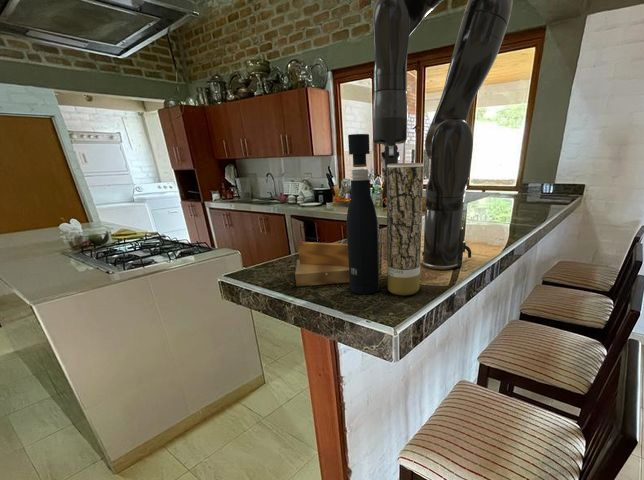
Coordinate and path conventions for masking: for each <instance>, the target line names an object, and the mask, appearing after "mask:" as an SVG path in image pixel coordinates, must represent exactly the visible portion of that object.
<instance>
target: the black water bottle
mask: <svg viewBox="0 0 644 480" xmlns="http://www.w3.org/2000/svg"><path fill="white" fill-rule="evenodd" d="M347 140H348V141H347V142H348V143H347V144H348V155H351V156H352V167H353V168H358V169H352V170H351V180H350V200H349V203H348V207H347V213H346V222H345V225H346V244H348V260H349V277H350V282H349V290H350V292H352V293H353V294H355V295H356V294H357V295H371V294H374V293H377V292H378V291H379V290H380V261H379V257H380V256H379V221H378V215H377V211H376V210H377V209H376V207H375V205H374V201H373V198H372V195H371V180H370V179H369V178H370V176H369V169H368V168H367V169H366V167H367V165H368V164H367V155H370V154H371V153H370V150H371V149H370V134H369V133H353V134H352V133H351V134H348V135H347ZM359 168H361V169H359ZM362 168H363V169H362ZM364 168H365V169H364Z"/></svg>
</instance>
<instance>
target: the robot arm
mask: <svg viewBox="0 0 644 480" xmlns="http://www.w3.org/2000/svg"><path fill="white" fill-rule="evenodd" d="M442 1H443V0H376V2H375V4H374V8H373V12H372V23H371V25H372V26H371V31H372V37H373V41H374V42H373V43H374V44H373V45H374V46H373V47H374V48H373V49H374V63H373V75H372V76H373V77H372V78H373V80H372V82H373V83H372V85H373V89H372V90H373V94H372V95H373V98H372V142H373V143H374V144H376V145H383V146H384V150H383V151H381V153H380V162H381V172H382V173H383V175H382V176H383V181H384V197H385V199H387V165H388V164H395V163H399V160H400V151H398V150H399V147H398V145H400V144H405V143H406V142H407V141H408V117H409V116H408V115H409V114H408V113H409V104H408V90H407V89H408V51H409V41H410V36H411V34H412V33H413V32H414V31H415V30H416V29H417V27H418V26H419V25H420V24H421V22H423V20H424V18H425V17H426V16H427V15H428V14H429V13H431V11H433V10H434V9H435V8H436V7H437V6H438V5H439V4H440V3H442ZM513 2H514V0H467V3H466V5H465V9H464V12H463V14H462V18H461V22H460V26H459V29H458V32H457V35H456V39H455V43H454V47H453V50H452V55H451V58H450V61H449V65H448V70H447V74H446V78H445V81H444V87H443V90H442V94H441V97H440V100H439V102H438V105H437V107H436V110H435V113H434V115H433V118H432V120H431V122H430V125H429V128H428V130H427V133H426V135H425V140H424V149H425V150H424V151H425V154H426V156H427V158H428V159H429V160H430V169H429V177H428V181H427V183H426V185H425V200H424V201H425V202H424V203H425V204H424V227H423V251H421V256H422V266H424V267H426V268H427V269H432V270H440V271H441V270H442V271H443V270H452V269H455V268H458V267H462V265H463V255H464V254H463V253H466V251H467V258H468V259H471V258H472V250H471V248H470V247H469V246H468V245H467V241H465V234H466V233H465V232H466V230H465V228H464V227H463V220H464V219H463V218H464V206H465V196H466V189H467V186H468V184H469V179H470V174H471V166H472V161H473V160H472V159H473V150H474V136H473V134H474V133H473V130H472V128H471V126H470V125H469V123H468V118H469V114H470V111H471V108H472V105H473V102H474V100H475V98H476V96H477V94H478V92H479V91H480V89H481V87H482V85H483V84H484V82H485V80H486V79H487V76H488V75H489V73H490V71H491V69H492V67H493V65H494V63H495V61H496V59H497V57H498V54H499V52H500V49H501V47H502V44H503V41H504V39H505V35H506V32H507V30H508V26H509V22H510V19H511V14H512V10H513V5H514V4H513Z"/></svg>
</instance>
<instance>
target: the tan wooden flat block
mask: <svg viewBox="0 0 644 480" xmlns="http://www.w3.org/2000/svg"><path fill="white" fill-rule="evenodd" d="M297 251H298V260H299V261H300V263H301V264H318V265H334V266H349V260H348V244H347V243H339V242H338V243H337V242H316V241H315V242H312V241H305V240H299V241H298V242H297Z"/></svg>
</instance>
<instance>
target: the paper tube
mask: <svg viewBox="0 0 644 480" xmlns="http://www.w3.org/2000/svg"><path fill="white" fill-rule="evenodd" d="M424 173H425V165H424V163H423V162H400V163H399V162H398V163H395V164H388V165H387V198H386V250H387V251H386V259H387V260H386V263H387V264H386V269H387V271H386V272H387V290H388V292H389V293H390V294H392V295H395V296H404V297H405V296H411V295H414V294H417V293H418V291H419V290H420V279H421V277H420V275H421V256H422V226H423V223H422V222H423V203H424V200H423V199H424V176H425V174H424Z"/></svg>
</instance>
